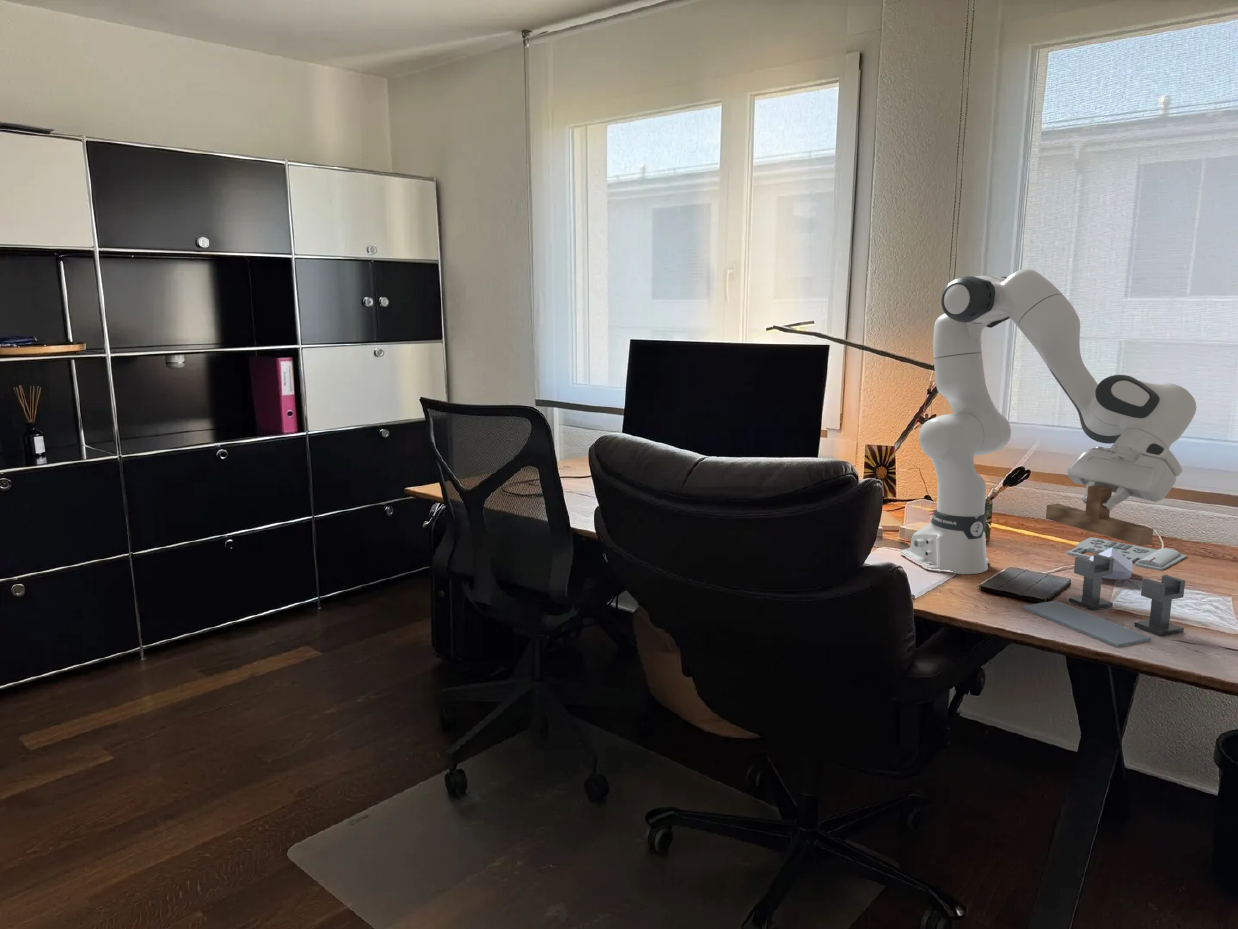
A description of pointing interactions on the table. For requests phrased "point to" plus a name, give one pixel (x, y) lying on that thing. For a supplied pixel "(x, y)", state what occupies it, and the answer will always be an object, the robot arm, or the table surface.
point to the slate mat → (1087, 624)
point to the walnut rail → (1099, 518)
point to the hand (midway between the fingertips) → (1095, 505)
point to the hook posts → (1150, 589)
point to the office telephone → (1130, 553)
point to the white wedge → (1118, 564)
